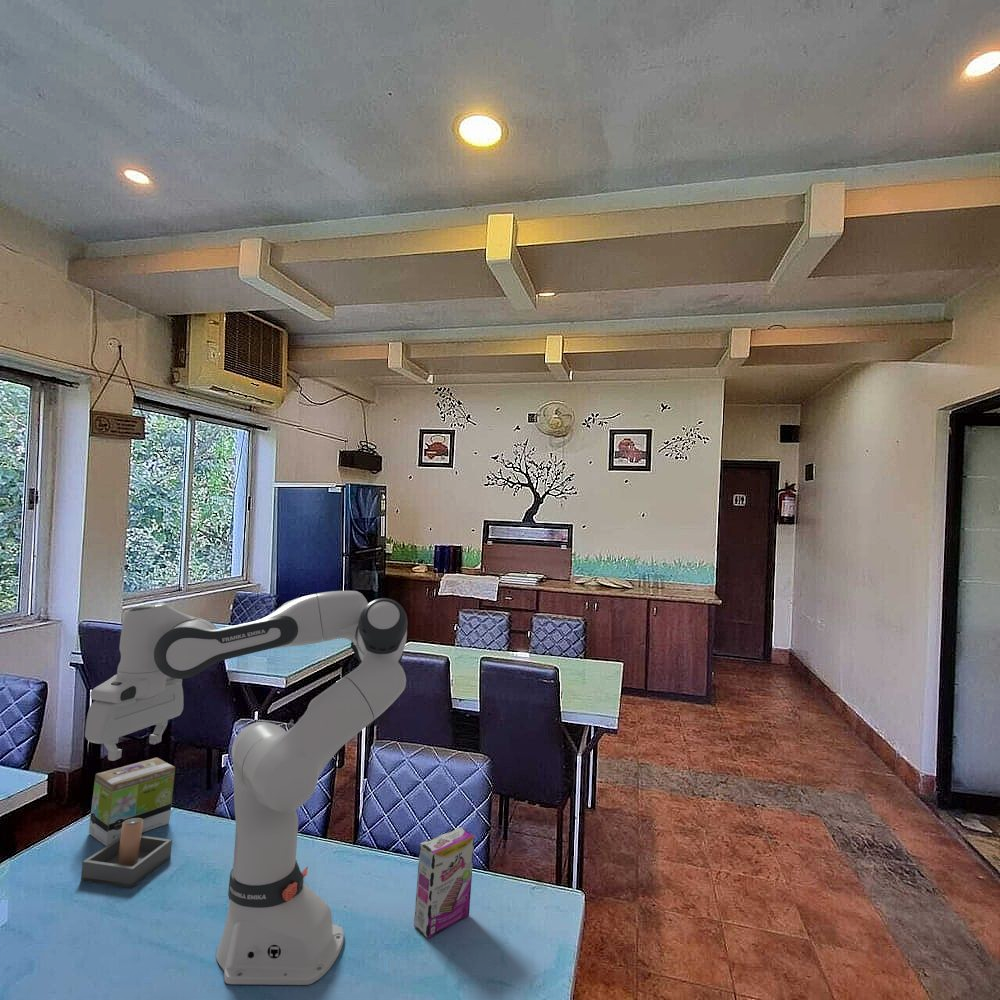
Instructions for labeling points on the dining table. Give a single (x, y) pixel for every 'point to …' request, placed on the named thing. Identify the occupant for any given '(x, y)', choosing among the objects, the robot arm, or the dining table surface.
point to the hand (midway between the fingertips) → (135, 750)
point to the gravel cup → (130, 842)
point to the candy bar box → (444, 881)
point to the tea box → (131, 798)
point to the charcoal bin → (111, 873)
